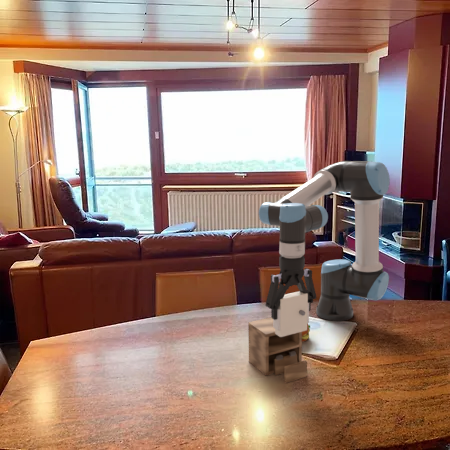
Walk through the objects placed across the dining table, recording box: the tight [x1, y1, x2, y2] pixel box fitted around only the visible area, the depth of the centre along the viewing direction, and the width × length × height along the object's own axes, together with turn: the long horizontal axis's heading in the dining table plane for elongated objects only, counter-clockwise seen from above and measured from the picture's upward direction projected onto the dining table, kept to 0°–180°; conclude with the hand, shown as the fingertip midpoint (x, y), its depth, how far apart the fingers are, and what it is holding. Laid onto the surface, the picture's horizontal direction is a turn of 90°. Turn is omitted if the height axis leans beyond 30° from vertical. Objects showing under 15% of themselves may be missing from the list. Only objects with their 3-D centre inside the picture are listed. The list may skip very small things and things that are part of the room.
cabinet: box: [248, 316, 308, 384], centre depth 144 cm, size 17×14×14 cm
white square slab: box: [275, 290, 308, 337], centre depth 136 cm, size 4×10×12 cm, turn 118°
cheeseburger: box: [302, 323, 311, 343], centre depth 165 cm, size 10×11×10 cm
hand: (291, 324), depth 137 cm, fingers closed on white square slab, 10 cm apart
